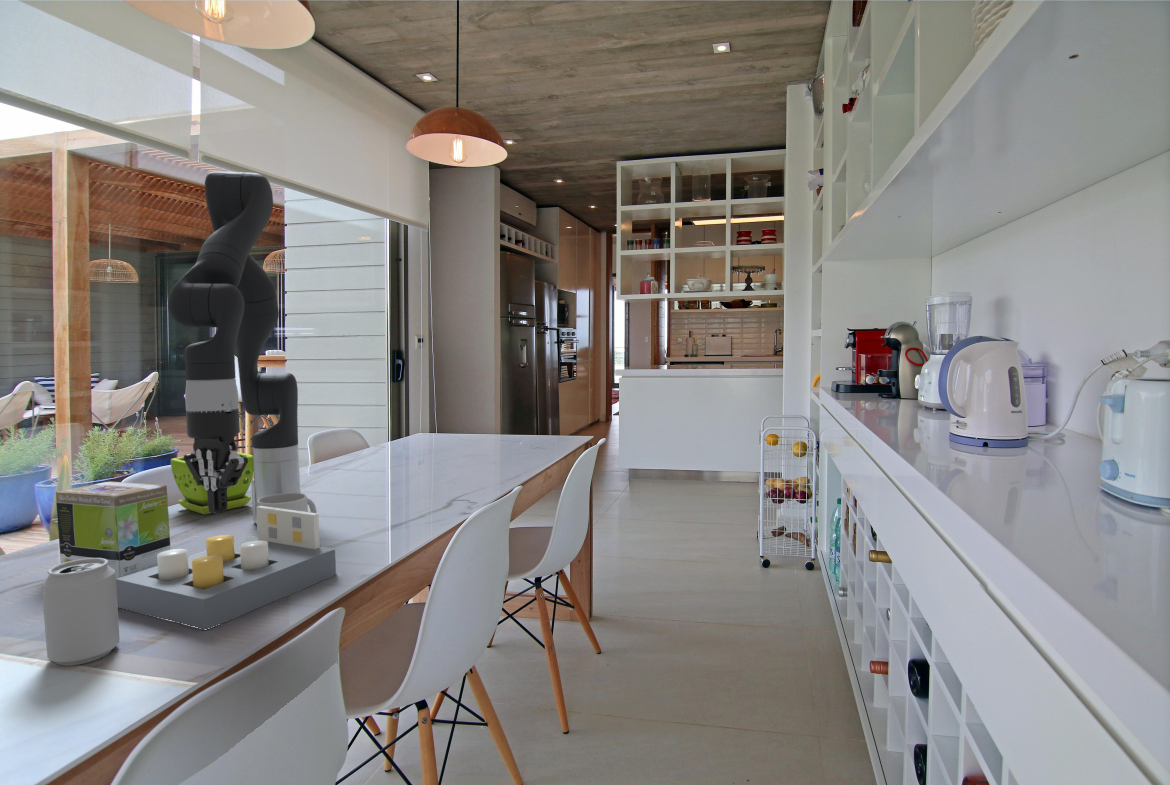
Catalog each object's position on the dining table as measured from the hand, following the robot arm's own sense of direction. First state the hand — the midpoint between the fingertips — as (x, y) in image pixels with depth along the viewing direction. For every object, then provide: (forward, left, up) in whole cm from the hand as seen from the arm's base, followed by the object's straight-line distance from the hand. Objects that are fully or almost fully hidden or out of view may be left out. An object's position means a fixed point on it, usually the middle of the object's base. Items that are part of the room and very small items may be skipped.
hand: (218, 511), depth 109 cm
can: (+6, -24, -13) cm, 28 cm away
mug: (-6, +19, -13) cm, 24 cm away
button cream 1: (0, -8, -10) cm, 12 cm away
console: (+4, -1, -12) cm, 13 cm away
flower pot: (-48, +34, -13) cm, 60 cm away
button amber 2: (+8, -8, -10) cm, 15 cm away
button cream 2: (+8, 0, -10) cm, 12 cm away
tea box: (-25, -2, -13) cm, 28 cm away
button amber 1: (0, 0, -10) cm, 10 cm away
